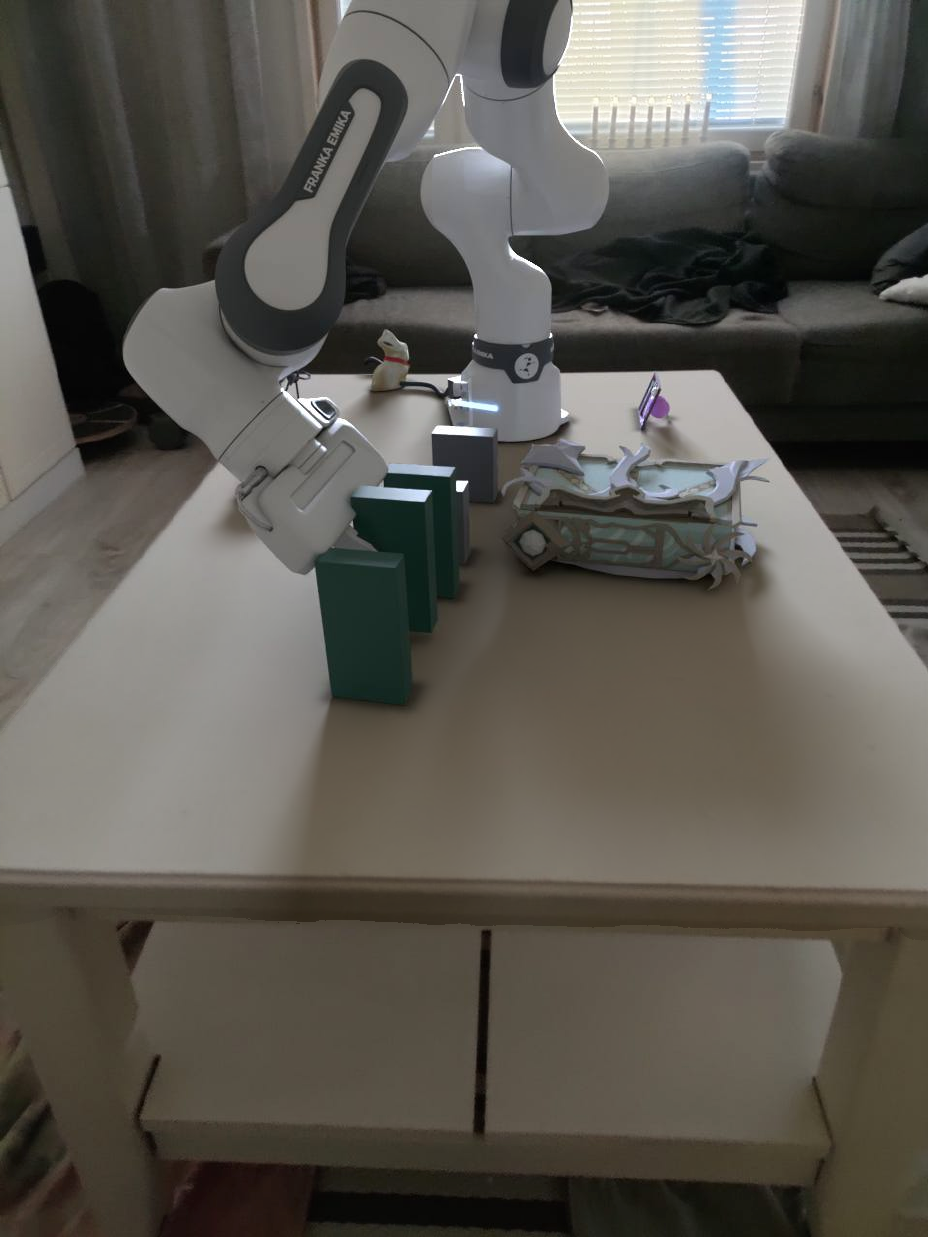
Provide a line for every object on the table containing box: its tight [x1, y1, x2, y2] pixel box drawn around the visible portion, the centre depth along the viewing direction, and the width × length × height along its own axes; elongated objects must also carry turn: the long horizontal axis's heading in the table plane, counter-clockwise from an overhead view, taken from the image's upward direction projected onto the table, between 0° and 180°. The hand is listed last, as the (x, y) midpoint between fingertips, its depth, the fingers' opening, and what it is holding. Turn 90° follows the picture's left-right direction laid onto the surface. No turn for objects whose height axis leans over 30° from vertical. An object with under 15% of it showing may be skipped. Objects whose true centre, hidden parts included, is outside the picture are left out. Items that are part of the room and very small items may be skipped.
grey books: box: [430, 425, 499, 565], centre depth 108 cm, size 20×8×9 cm, turn 167°
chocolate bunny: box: [370, 329, 411, 392], centre depth 156 cm, size 6×8×10 cm
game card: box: [637, 371, 671, 430], centre depth 139 cm, size 7×5×9 cm
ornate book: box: [499, 437, 771, 591], centre depth 103 cm, size 23×10×30 cm
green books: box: [314, 462, 461, 706], centre depth 85 cm, size 22×7×14 cm, turn 167°
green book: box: [350, 486, 439, 635], centre depth 84 cm, size 3×7×14 cm, turn 77°
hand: (387, 553), depth 84 cm, fingers closed on green book, 2 cm apart
